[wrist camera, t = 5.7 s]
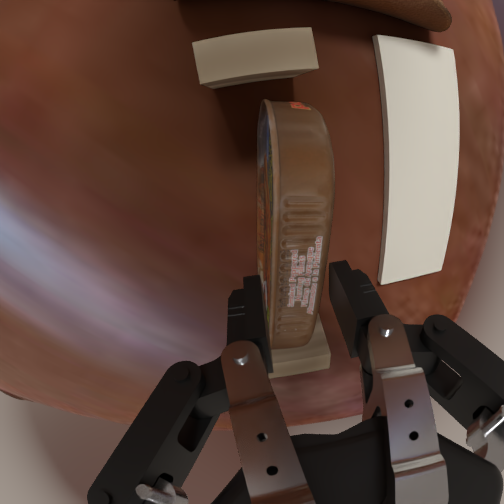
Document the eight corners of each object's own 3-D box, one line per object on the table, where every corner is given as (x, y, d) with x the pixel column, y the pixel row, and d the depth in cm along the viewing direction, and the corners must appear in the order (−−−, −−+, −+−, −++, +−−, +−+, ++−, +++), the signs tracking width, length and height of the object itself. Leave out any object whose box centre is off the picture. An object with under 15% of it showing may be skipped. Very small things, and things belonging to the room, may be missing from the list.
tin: (256, 99, 15) (256, 98, 8) (307, 100, 15) (348, 104, 8) (256, 292, 23) (256, 377, 16) (294, 292, 23) (306, 376, 16)
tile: (372, 36, 13) (377, 34, 12) (446, 49, 12) (453, 49, 12) (377, 279, 23) (380, 285, 23) (437, 265, 23) (441, 270, 22)
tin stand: (207, 60, 14) (192, 42, 9) (288, 48, 14) (311, 27, 9) (261, 325, 25) (266, 378, 20) (314, 316, 25) (329, 368, 20)
